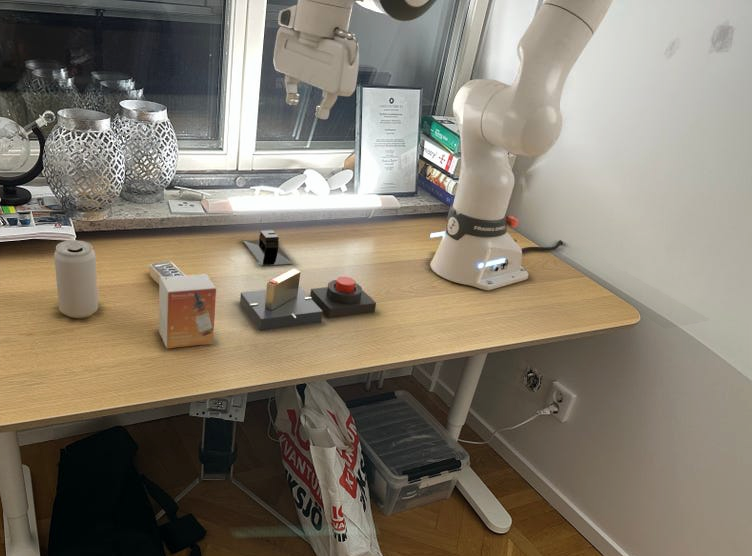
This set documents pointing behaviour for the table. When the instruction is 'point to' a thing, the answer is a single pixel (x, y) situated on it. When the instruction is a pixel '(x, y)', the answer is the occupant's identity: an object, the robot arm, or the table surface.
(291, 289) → the pointer
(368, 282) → the table surface
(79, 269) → the beverage can
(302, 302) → the dial panel
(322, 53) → the robot arm
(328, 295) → the button box
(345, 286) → the button
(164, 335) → the small box
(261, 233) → the build plate
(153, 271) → the multiport hub
